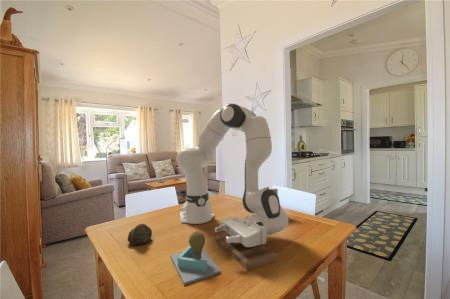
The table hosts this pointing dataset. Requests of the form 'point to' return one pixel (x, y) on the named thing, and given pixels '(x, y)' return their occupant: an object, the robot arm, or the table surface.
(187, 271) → the V-block
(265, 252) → the wooden board with hole
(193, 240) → the light bulb
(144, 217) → the table surface
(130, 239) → the seashell
